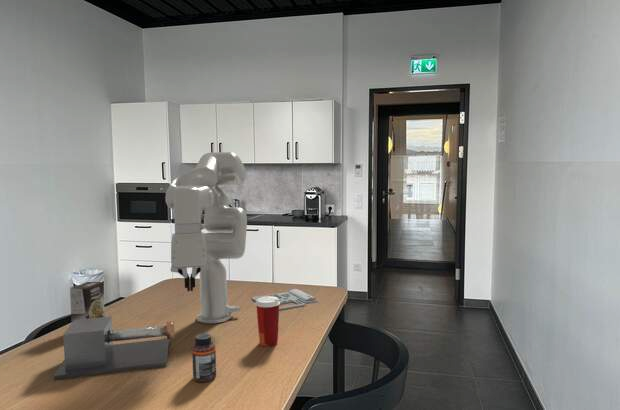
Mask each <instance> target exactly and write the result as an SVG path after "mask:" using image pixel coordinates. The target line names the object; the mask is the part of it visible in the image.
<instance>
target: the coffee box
mask: <svg viewBox="0 0 620 410" xmlns="http://www.w3.org/2000/svg"><path fill="white" fill-rule="evenodd" d="M69 296H70V299H69V300H70V316H71V323H72V322H73V321H74V320H78V319H89V318H100V317H106V315H105V314H106V312H105V310H106V309H105V292H104V281H86V282H83V283H80V284H77V285H74V286H70V287H69Z"/></svg>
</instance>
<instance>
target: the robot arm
mask: <svg viewBox="0 0 620 410" xmlns="http://www.w3.org/2000/svg"><path fill="white" fill-rule="evenodd" d="M246 173H247V172H246V167H245V166H244V163H243V162H242V159H241V158H240V157H239V155H237V154H236V153H235V152H231V151H228V152H227V151H226V152H225V151H223V152H222V151H221V152H219V151H215V152H214V151H213V152H206V153H204V154H203V155H202V156H201V157H200V159H199V160H198V162H197V163H196V166H195V167H194V168H193V169H191V170H188V171H186V172H184V173H182V174H179V175H178V176H176V177H175V178H174V179H173V180H171V183H170V184H169V186H168V187H167V189H166V192H165V204H166V206H167V207H168V208H169V209H170V210H173V214H174V215H173V217H174V218H173V219H174V233H172V235H171V241H170V242H171V243H170V244H171V246H170V262H171V263H170V264H171V267H170V272H172V273H175V274H176V273H177V274H179V275H180V276H182V277H183V279H184V288H185V289H187V292H193V291H194V288H196V277H197V275H198V274H199V293H200V294H199V295H200V297H199V299H200V313H198V314H197V315H196V321H197V322H199V323H201V324H210V325H211V324H219V323H225V322H227V321H228V320H230V319H232V317H233V313H239V312H241V306H240V305H239V306H237V305H229V303H228V285H227V269H226V267H225V265H224V264H223V262H222V261H221V260H231V259H232V260H234V259H235V260H237V259H240V258H242V257H243V256H244V254H245V252H246V251H245V249H246V242H247V241H246V240H247V231H248V230H247V228H248V227H247V226H248V219H247V213H246V210H245V209H244V208H242V207H238V206H233V207H232V206H230V197H229V195H228V194H227V193H226V192H225V190H223V188H222V187H220V186H226V185H227V186H228V185H229V186H235V185H242V184H243V183H244V182H245V180H246V178H247V177H246V176H247V175H246ZM202 210H204V218H203V223H202V213H201V212H202ZM203 230H205V231H207V232H206V233H205V232H204V231H203ZM189 268H190V269H191V273H190V274H188V269H189ZM189 275H190V276H189Z"/></svg>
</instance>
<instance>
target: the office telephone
mask: <svg viewBox="0 0 620 410" xmlns="http://www.w3.org/2000/svg"><path fill="white" fill-rule="evenodd" d="M266 296H273V297H277V298H278V299H279V301H280V304H279V312H281V311H283V310H284V311H286V310H290V309H296V308H301V307H305V306H307V305H308V304H313V303H317V302H319V299H317V298H315V297H314V296H312V295H310V294H308V293H306V292H305V291H302V290H300V289H297V288H293V289H290V290H289V291H286V292H280V293H279V292H278V293H273V294H267V295H266V294H264V295H259V296H253V297H251V300H252V301H253V302H255V303H256V301H257V299H258V298H261V297H266ZM290 303H294V304H292V305H287V306H281V307H280V305H284V304H285V305H286V304H290Z"/></svg>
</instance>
